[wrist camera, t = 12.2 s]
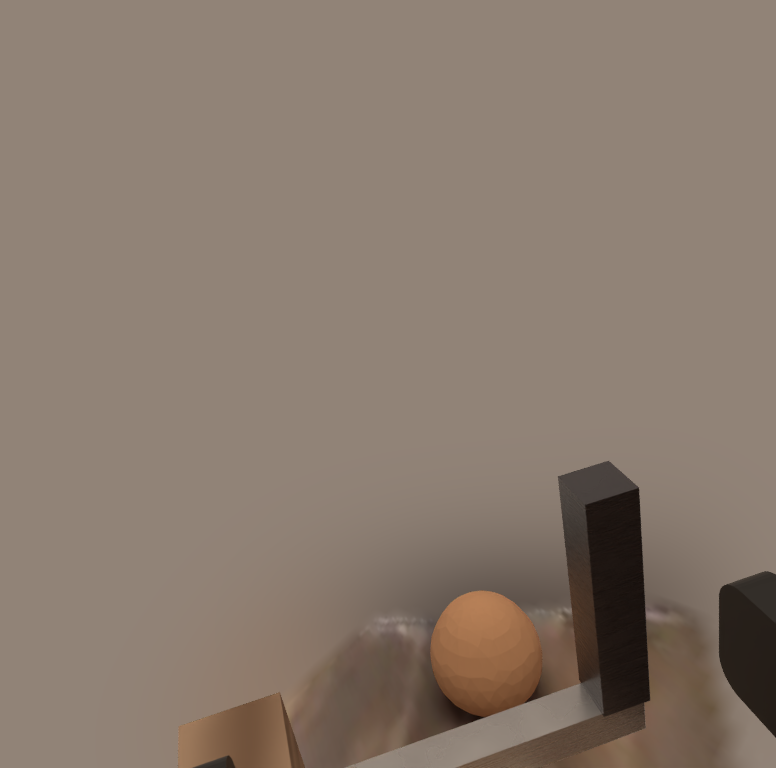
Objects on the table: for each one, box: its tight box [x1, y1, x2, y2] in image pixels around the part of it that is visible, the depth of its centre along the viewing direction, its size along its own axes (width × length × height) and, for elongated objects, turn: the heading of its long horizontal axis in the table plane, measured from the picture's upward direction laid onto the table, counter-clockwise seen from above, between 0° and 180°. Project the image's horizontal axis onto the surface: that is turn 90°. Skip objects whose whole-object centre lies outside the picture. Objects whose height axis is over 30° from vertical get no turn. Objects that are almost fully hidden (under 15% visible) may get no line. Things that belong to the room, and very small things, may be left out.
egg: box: [430, 590, 542, 717], centre depth 49 cm, size 7×7×8 cm
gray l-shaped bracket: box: [345, 461, 650, 768], centre depth 33 cm, size 19×2×14 cm, turn 104°
